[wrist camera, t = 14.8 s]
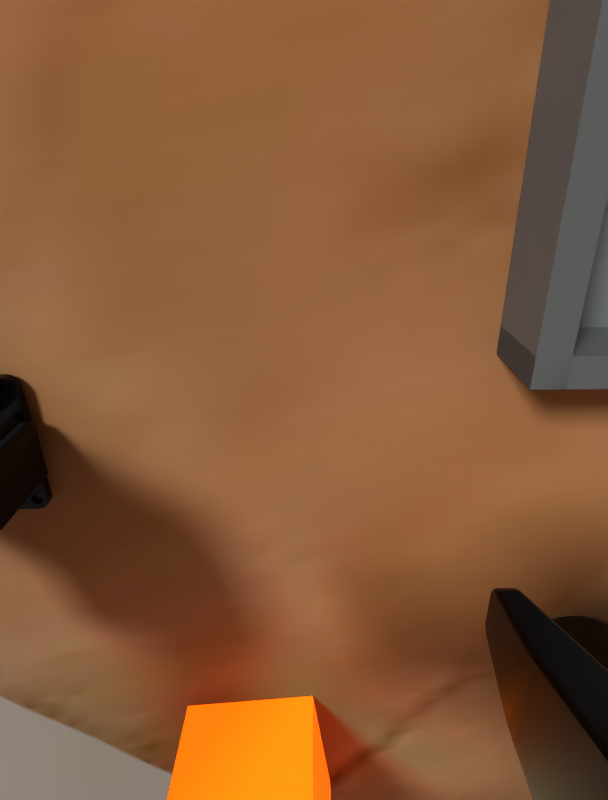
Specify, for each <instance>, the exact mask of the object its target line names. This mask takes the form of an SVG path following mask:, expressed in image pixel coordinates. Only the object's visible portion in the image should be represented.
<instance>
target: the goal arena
mask: <svg viewBox="0 0 608 800" xmlns="http://www.w3.org/2000/svg"><path fill="white" fill-rule="evenodd" d="M497 355H498V356H499V357H500V358H501V359H502V360H503V361H504V362H505V364H506V365H507V366H508V367H509V368H510V369H511V370H512V371H513V372H514V373H515V374H516V375H517V377H518V378H519V379H520V380H521V381H522V382H523V383H524V384H525V385H526V386H527V387H528V388H529V389H530V390H562V389H608V0H550V5H549V11H548V18H547V25H546V31H545V38H544V44H543V51H542V58H541V64H540V71H539V78H538V84H537V91H536V97H535V104H534V111H533V117H532V124H531V131H530V137H529V144H528V150H527V157H526V164H525V170H524V177H523V183H522V190H521V197H520V203H519V210H518V217H517V223H516V230H515V236H514V243H513V250H512V256H511V263H510V269H509V276H508V283H507V289H506V296H505V303H504V309H503V316H502V322H501V329H500V336H499V342H498V349H497Z"/></svg>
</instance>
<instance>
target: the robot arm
mask: <svg viewBox="0 0 608 800" xmlns="http://www.w3.org/2000/svg"><path fill="white" fill-rule="evenodd" d="M3 384H6V385H8V386H9V387H10V389H11V391H8V390H7V389H5V387H4V386H3ZM47 473H48V471H47V468H46V464H45V460H44V457H43V453H42V449H41V446H40V442H39V439H38V435H37V431H36V428H35V426H34V424H33V423H32V421H31V418H30V414H29V411H28V407H27V403H26V400H25V396H24V393H23V389H22V385H21V383H20V381H19V380H18V379H17V378H16V377H14V376H12V375H7V374H5V375H0V531H1V530H2V528H3V527H4V526H5V525H6V524H7V522H8V521H9V520H10V519H11V517H12V516H13V515H14V514H15V513H16V511H17V510H18V509H40V508H44V507H46V506H47V504H48V503H49V502H50V500H51V498H52V494H51V490H50V486H49V483H48V479H47V476H46V475H47ZM36 495H38V496H40V497H41V498H42V499H40V498H38V497H37V496H36ZM485 627H486V636H487V640H488V644H489V649H490V653H491V657H492V661H493V666H494V670H495V674H496V678H497V683H498V687H499V691H500V696H501V700H502V704H503V708H504V712H505V716H506V720H507V724H508V728H509V731H510V734H511V737H512V740H513V743H514V746H515V749H516V752H517V755H518V758H519V761H520V764H521V767H522V769H523V772H524V775H525V778H526V781H527V784H528V787H529V790H530V793H531V796H532V798H533V800H608V670H607V669H606V668H605V667H604V666H603V665H602V664H600V663H599V662H598V661H597V660H596V659H595V658H594V657H593V656H592V655H590V654H589V653H588V652H587V651H586V650H585V649H584V648H583V647H582V646H580V645H579V644H578V643H577V642H576V641H575V640H574V639H573V638H572V637H571V636H569V635H568V634H567V633H566V632H565V631H564V630H563V629H562V628H561V627H559V626H558V625H557V624H556V623H555V622H554V621H553V620H552V619H551V618H549V617H548V616H547V615H546V614H545V613H544V612H543V611H542V610H541V609H540V608H538V607H537V606H536V605H535V604H534V603H533V602H532V601H531V600H530V599H528V598H527V597H526V596H525V595H524V594H523V593H522V592H521V591H519V590H517V589H515V588H496V589H493V591H492V592H491V595H490V600H489V606H488V611H487V617H486V624H485Z"/></svg>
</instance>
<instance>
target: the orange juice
mask: <svg viewBox="0 0 608 800" xmlns="http://www.w3.org/2000/svg"><path fill="white" fill-rule="evenodd" d="M167 800H331V790H330V778H329V774H328V769H327V764H326V759H325V754H324V749H323V744H322V739H321V734H320V729H319V724H318V719H317V714H316V709H315V704H314V699H313V696H306V697H293V698H281V699H268V700H255V701H243V702H230V703H217V704H205V705H192V706H188V707H187V712H186V716H185V721H184V725H183V730H182V734H181V738H180V743H179V747H178V752H177V756H176V761H175V765H174V770H173V774H172V778H171V783H170V787H169V792H168V796H167Z"/></svg>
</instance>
